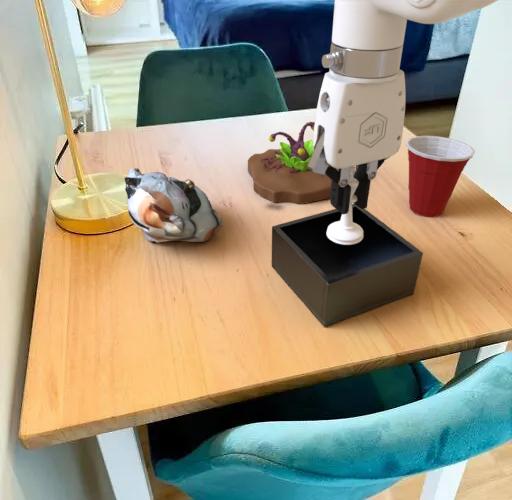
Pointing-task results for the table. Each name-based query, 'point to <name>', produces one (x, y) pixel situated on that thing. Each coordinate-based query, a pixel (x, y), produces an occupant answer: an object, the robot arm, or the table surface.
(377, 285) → the dark grey open box
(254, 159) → the plant
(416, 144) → the plastic cup
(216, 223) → the lucky cat figurine
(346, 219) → the chess piece
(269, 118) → the table surface
